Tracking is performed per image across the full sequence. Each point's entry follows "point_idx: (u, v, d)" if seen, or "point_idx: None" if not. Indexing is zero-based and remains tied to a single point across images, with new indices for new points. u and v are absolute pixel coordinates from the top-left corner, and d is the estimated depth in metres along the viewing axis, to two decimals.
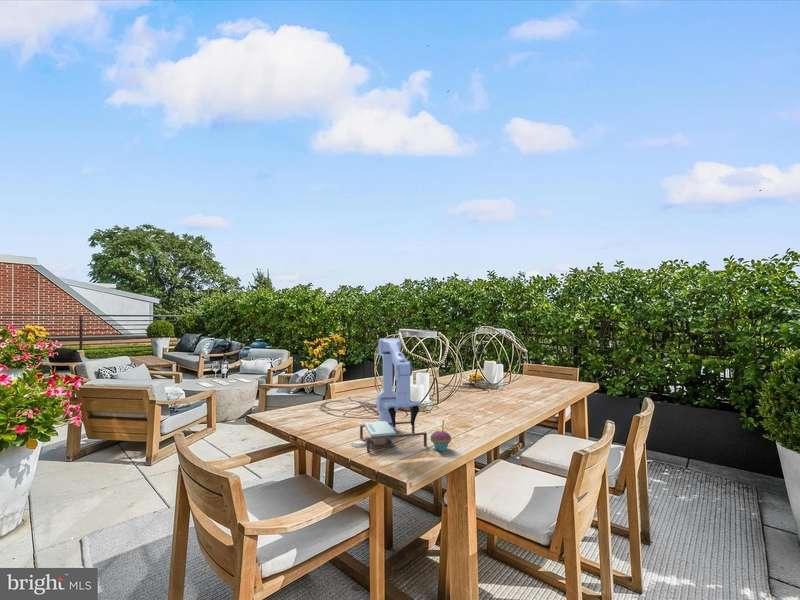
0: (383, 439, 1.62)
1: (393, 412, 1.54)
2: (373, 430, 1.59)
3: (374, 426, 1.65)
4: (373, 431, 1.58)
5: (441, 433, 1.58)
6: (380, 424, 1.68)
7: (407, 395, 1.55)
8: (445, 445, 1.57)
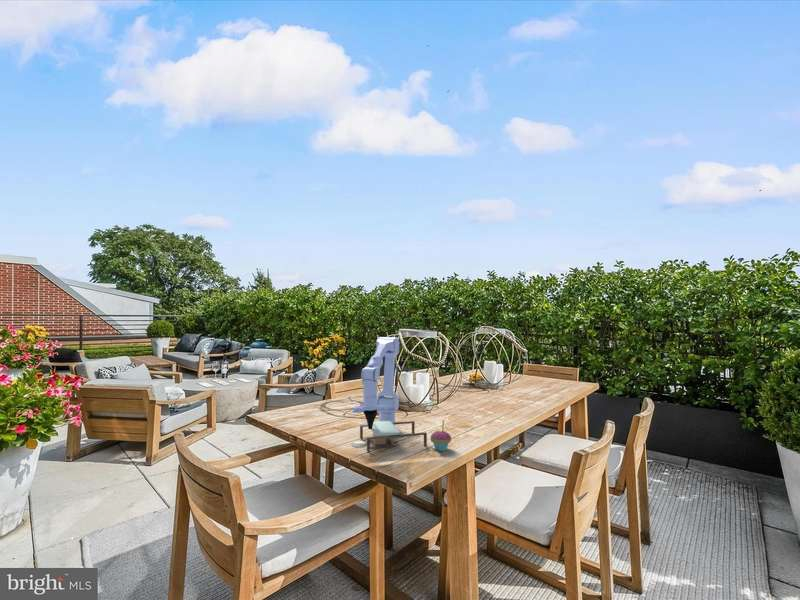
0: (383, 439, 1.62)
1: (368, 415, 1.60)
2: (377, 430, 1.60)
3: (378, 426, 1.66)
4: (377, 431, 1.59)
5: (441, 433, 1.58)
6: (384, 424, 1.69)
7: (373, 399, 1.61)
8: (445, 445, 1.57)
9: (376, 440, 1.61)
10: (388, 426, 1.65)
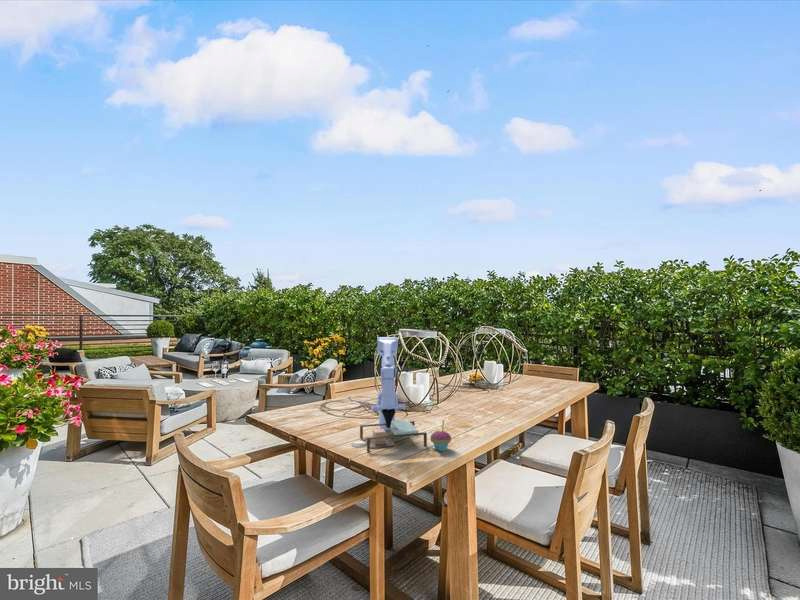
0: (383, 439, 1.62)
1: (386, 413, 1.62)
2: (396, 428, 1.62)
3: (396, 424, 1.68)
4: (396, 429, 1.61)
5: (441, 433, 1.58)
6: (401, 422, 1.71)
7: (392, 398, 1.63)
8: (445, 445, 1.57)
9: (376, 440, 1.61)
10: (406, 425, 1.67)
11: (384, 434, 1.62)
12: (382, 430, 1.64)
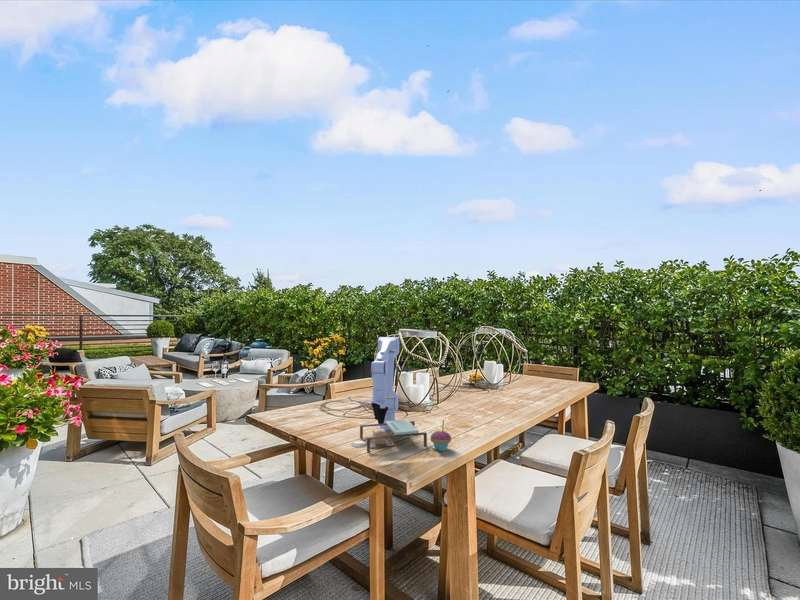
0: (383, 439, 1.62)
1: (371, 404, 1.68)
2: (396, 428, 1.62)
3: (396, 424, 1.68)
4: (396, 429, 1.61)
5: (441, 433, 1.58)
6: (402, 422, 1.71)
7: (373, 392, 1.63)
8: (445, 445, 1.57)
9: (376, 440, 1.61)
10: (406, 425, 1.67)
11: (384, 434, 1.62)
12: (382, 430, 1.64)
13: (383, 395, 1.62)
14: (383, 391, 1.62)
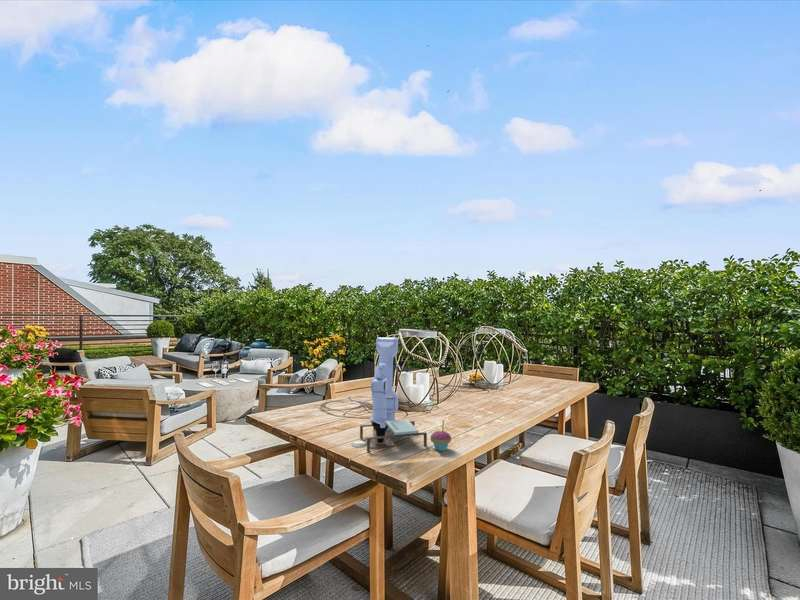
0: None
1: None
2: (396, 428, 1.62)
3: (396, 424, 1.68)
4: (396, 429, 1.61)
5: (441, 433, 1.58)
6: (402, 422, 1.71)
7: (373, 411, 1.62)
8: (445, 445, 1.57)
9: (376, 440, 1.61)
10: (406, 425, 1.67)
11: None
12: None
13: (383, 414, 1.62)
14: (383, 410, 1.62)
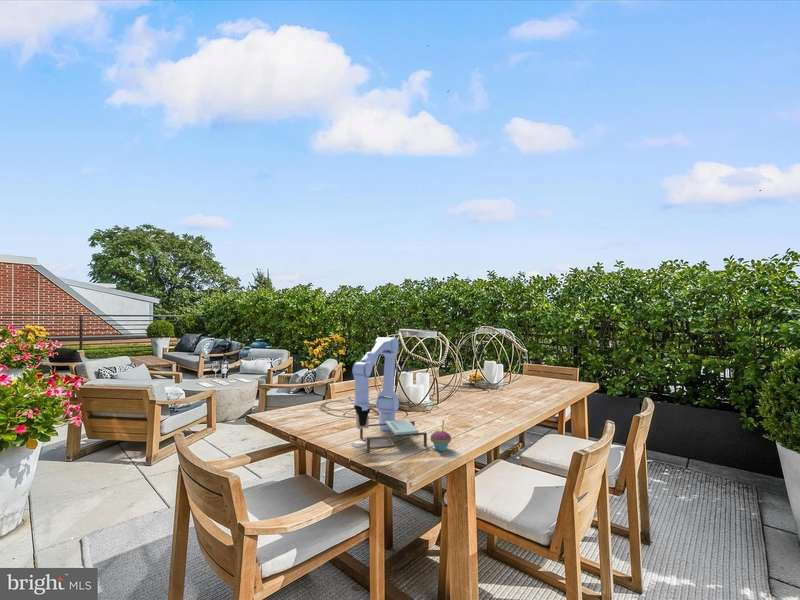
0: None
1: (354, 407, 1.65)
2: (396, 428, 1.62)
3: (396, 424, 1.68)
4: (396, 429, 1.61)
5: (441, 433, 1.58)
6: (402, 422, 1.71)
7: (355, 394, 1.61)
8: (445, 445, 1.57)
9: (359, 424, 1.59)
10: (406, 425, 1.67)
11: (367, 418, 1.60)
12: None
13: (365, 398, 1.60)
14: (365, 393, 1.60)
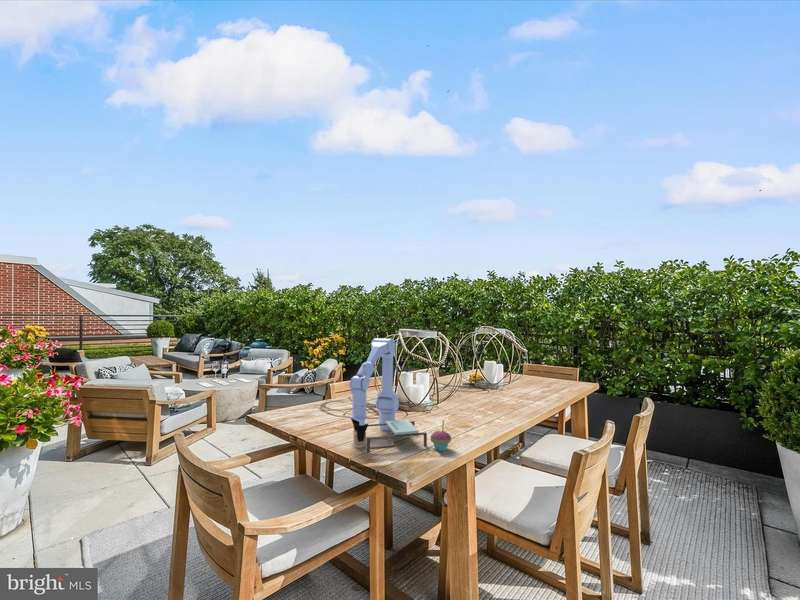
0: (363, 440, 1.60)
1: None
2: (396, 428, 1.62)
3: (396, 424, 1.68)
4: (396, 429, 1.61)
5: (441, 433, 1.58)
6: (402, 422, 1.71)
7: (353, 408, 1.60)
8: (445, 445, 1.57)
9: (356, 441, 1.59)
10: (406, 425, 1.67)
11: None
12: None
13: (363, 412, 1.60)
14: (363, 407, 1.60)
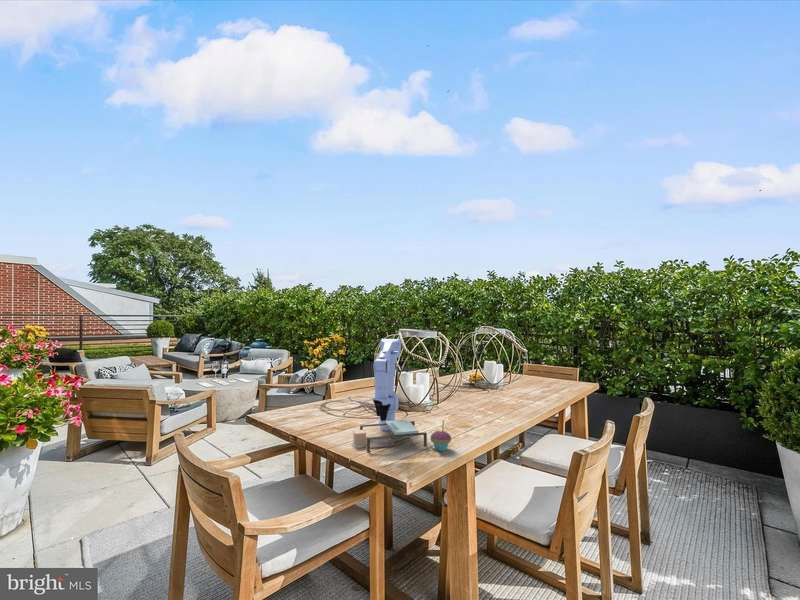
0: (363, 440, 1.60)
1: (373, 401, 1.73)
2: (396, 428, 1.62)
3: (396, 424, 1.68)
4: (396, 429, 1.61)
5: (441, 433, 1.58)
6: (402, 422, 1.71)
7: (376, 389, 1.68)
8: (445, 445, 1.57)
9: (356, 441, 1.59)
10: (406, 425, 1.67)
11: (364, 435, 1.60)
12: (362, 431, 1.62)
13: (385, 393, 1.67)
14: (385, 388, 1.68)
